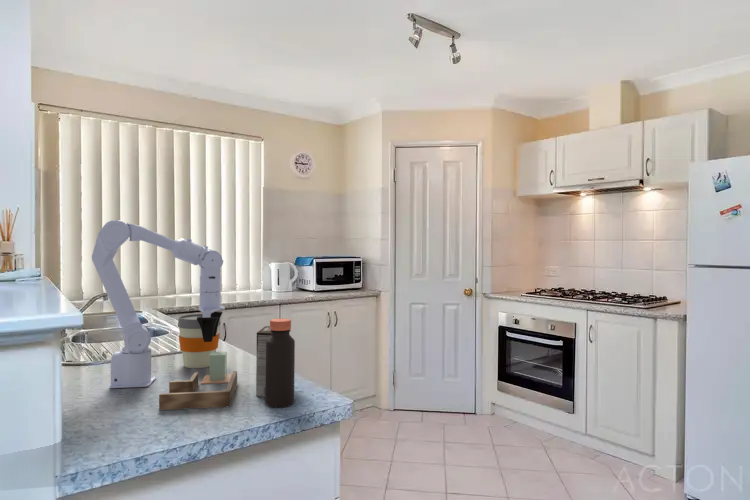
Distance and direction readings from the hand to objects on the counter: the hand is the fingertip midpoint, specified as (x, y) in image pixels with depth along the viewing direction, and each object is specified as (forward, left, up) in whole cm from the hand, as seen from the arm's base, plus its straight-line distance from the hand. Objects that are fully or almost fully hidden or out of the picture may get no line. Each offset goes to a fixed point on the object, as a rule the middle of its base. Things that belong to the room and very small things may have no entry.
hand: (209, 338), depth 140 cm
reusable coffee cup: (-5, +13, -11) cm, 18 cm away
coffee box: (+18, -18, -11) cm, 28 cm away
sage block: (+3, -5, -10) cm, 12 cm away
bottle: (+20, -28, -11) cm, 36 cm away
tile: (+3, -5, -10) cm, 12 cm away
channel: (+1, -19, -10) cm, 22 cm away
